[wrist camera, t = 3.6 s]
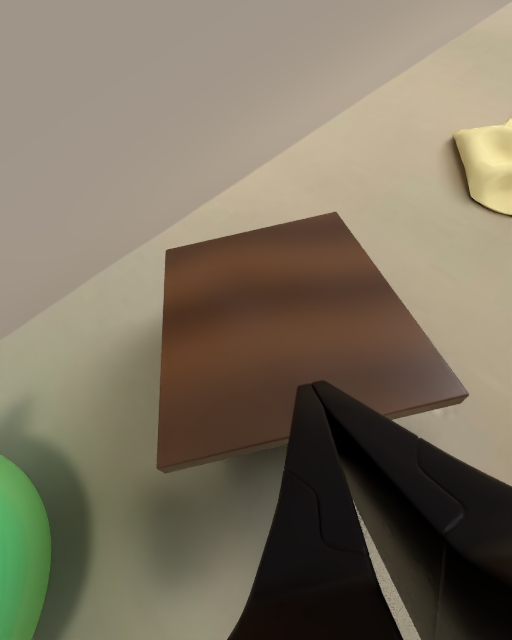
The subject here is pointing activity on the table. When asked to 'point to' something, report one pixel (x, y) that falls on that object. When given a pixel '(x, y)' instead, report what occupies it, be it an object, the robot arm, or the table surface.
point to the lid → (282, 339)
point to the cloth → (488, 164)
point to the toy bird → (21, 553)
